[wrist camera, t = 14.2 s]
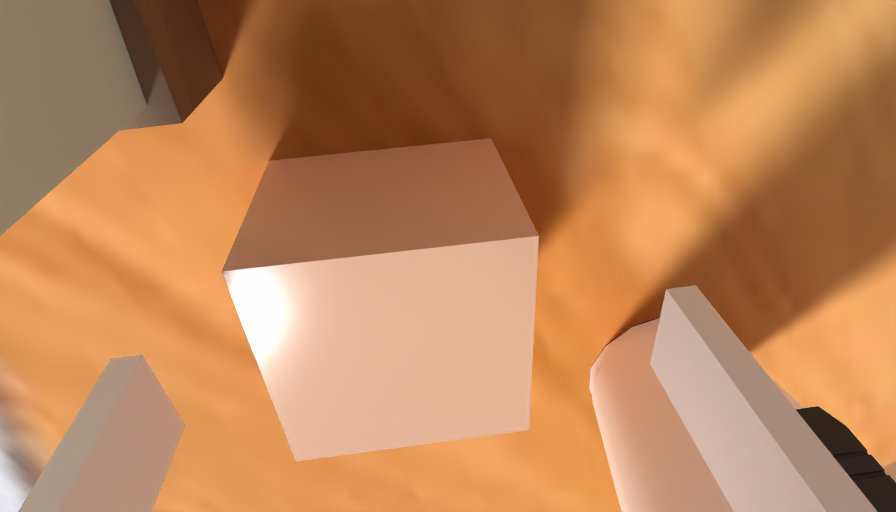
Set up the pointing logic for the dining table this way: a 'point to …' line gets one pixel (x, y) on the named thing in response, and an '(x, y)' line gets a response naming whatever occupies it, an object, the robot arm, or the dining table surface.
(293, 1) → the dining table surface
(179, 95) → the walnut base
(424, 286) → the beige cube
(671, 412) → the foam cup
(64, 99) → the sage brick
